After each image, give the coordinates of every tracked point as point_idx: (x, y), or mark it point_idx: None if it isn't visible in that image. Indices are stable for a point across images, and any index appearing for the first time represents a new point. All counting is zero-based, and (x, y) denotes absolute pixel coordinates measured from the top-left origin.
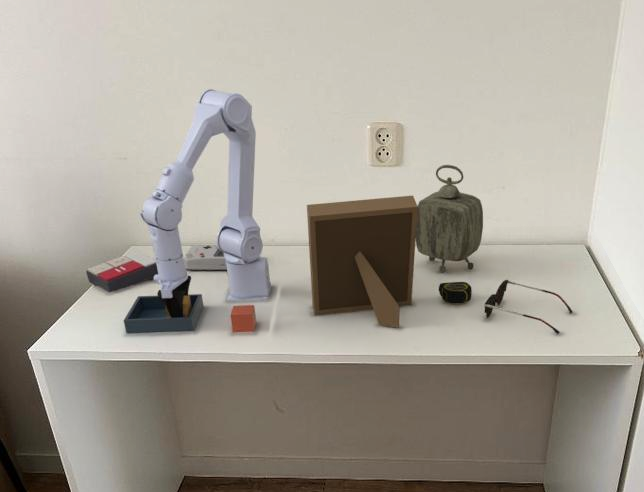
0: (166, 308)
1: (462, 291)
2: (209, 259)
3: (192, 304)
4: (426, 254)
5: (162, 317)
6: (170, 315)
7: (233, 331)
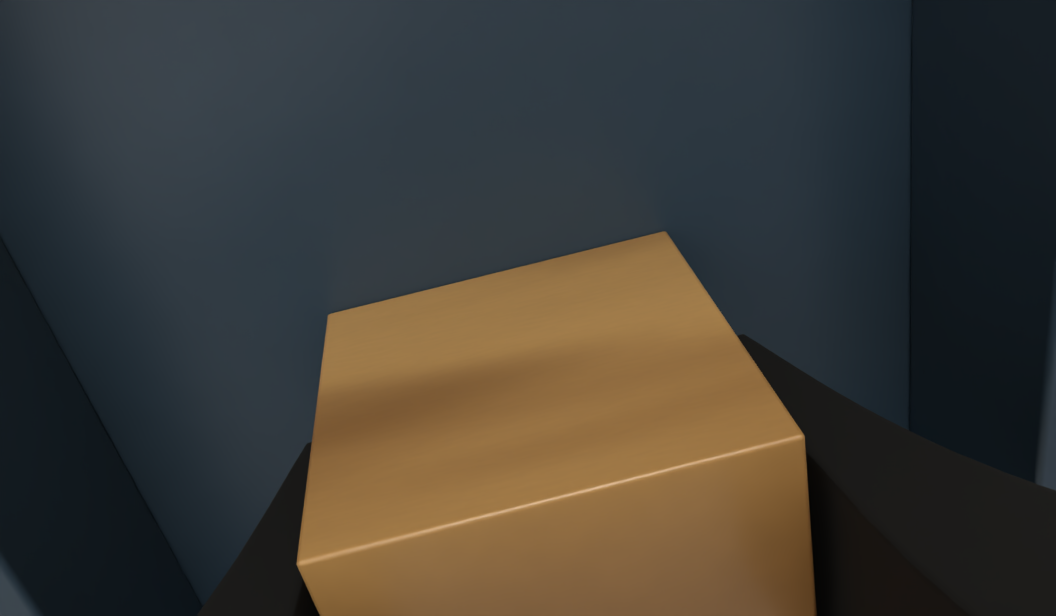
0: (311, 510)
1: None
2: None
3: (935, 441)
4: None
5: (539, 98)
6: (269, 506)
7: None
